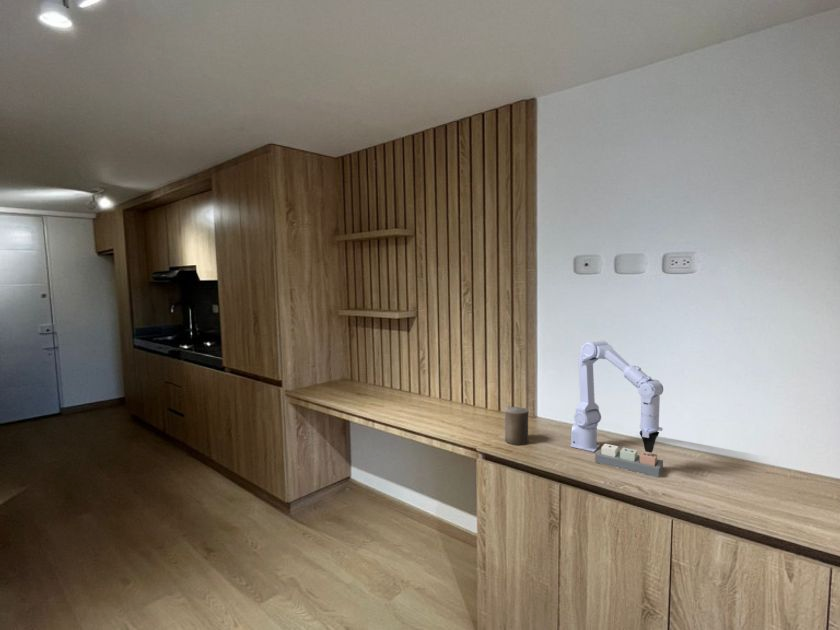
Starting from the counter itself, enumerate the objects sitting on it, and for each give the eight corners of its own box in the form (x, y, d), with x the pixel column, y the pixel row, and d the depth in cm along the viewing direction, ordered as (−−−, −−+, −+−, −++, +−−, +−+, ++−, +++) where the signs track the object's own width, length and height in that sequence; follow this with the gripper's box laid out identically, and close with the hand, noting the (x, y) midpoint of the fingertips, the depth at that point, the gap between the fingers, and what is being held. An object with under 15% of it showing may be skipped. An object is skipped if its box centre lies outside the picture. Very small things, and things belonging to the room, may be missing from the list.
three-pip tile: (639, 466, 154) (639, 455, 154) (642, 462, 158) (642, 450, 157) (654, 470, 151) (654, 458, 151) (656, 465, 155) (657, 454, 154)
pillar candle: (528, 446, 178) (529, 410, 177) (504, 444, 180) (504, 409, 178) (527, 437, 187) (528, 404, 186) (504, 436, 189) (505, 402, 188)
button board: (595, 462, 161) (595, 454, 161) (601, 454, 168) (602, 447, 168) (658, 477, 148) (658, 469, 148) (662, 468, 156) (663, 460, 155)
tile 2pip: (619, 462, 158) (620, 450, 158) (622, 457, 162) (623, 446, 161) (634, 465, 155) (634, 453, 155) (637, 460, 159) (637, 449, 158)
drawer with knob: (601, 457, 162) (601, 446, 162) (604, 453, 166) (605, 443, 165) (614, 460, 159) (615, 449, 159) (618, 456, 163) (618, 445, 162)
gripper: (659, 421, 145) (657, 460, 146) (666, 411, 156) (664, 447, 157) (636, 417, 149) (635, 455, 150) (644, 408, 161) (643, 443, 161)
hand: (648, 451), depth 154 cm, fingers closed
